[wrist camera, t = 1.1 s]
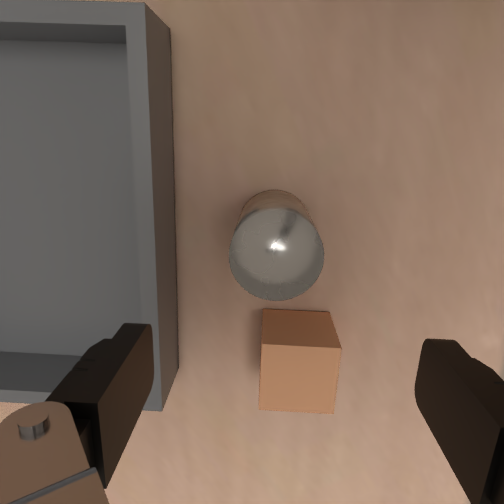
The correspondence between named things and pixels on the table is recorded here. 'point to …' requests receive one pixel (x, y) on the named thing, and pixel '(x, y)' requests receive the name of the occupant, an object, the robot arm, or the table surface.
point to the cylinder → (275, 247)
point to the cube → (298, 361)
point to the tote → (84, 189)
